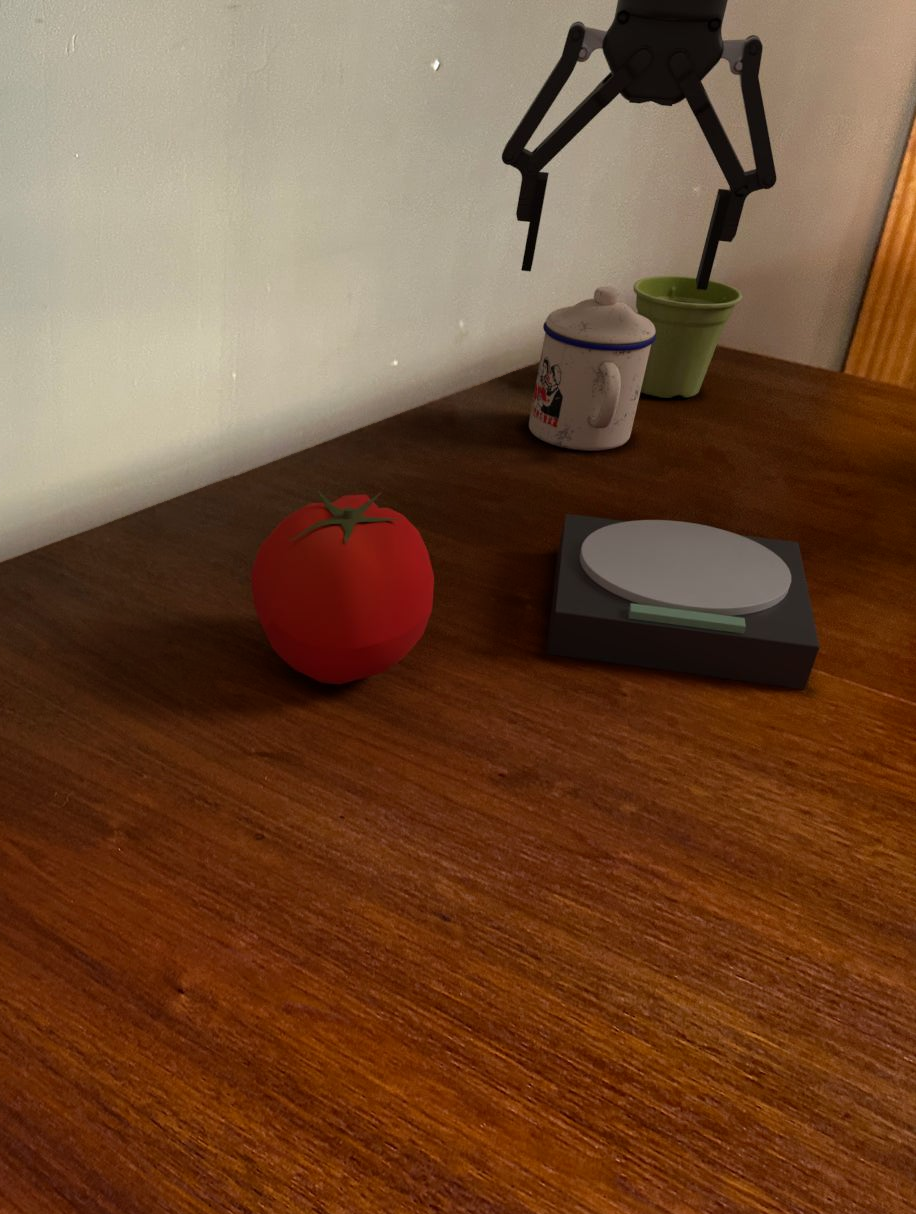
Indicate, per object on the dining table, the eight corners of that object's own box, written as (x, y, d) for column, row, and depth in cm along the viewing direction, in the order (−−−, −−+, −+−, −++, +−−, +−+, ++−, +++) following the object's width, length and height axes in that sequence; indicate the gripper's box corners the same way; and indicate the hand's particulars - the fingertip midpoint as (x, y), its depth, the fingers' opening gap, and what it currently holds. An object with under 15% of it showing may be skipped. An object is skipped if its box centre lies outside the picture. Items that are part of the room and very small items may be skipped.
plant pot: (596, 391, 131) (618, 290, 125) (634, 365, 137) (656, 268, 131) (695, 414, 127) (721, 311, 121) (729, 386, 133) (756, 287, 127)
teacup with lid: (516, 413, 125) (540, 271, 118) (618, 416, 126) (649, 275, 118) (542, 465, 116) (571, 315, 109) (652, 468, 116) (689, 318, 109)
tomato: (432, 628, 93) (456, 476, 87) (411, 724, 84) (435, 561, 77) (266, 606, 95) (276, 455, 89) (226, 698, 86) (235, 536, 79)
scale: (785, 582, 101) (801, 533, 98) (805, 690, 89) (823, 637, 86) (557, 553, 103) (567, 505, 101) (546, 654, 91) (557, 602, 89)
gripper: (499, -60, 98) (451, 271, 112) (877, -34, 94) (779, 306, 108) (507, -69, 103) (460, 247, 117) (864, -44, 100) (772, 280, 113)
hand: (613, 276), depth 113 cm, fingers open, 13 cm apart
